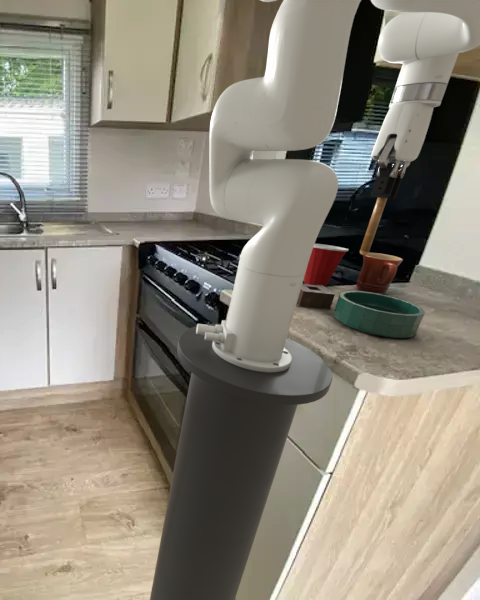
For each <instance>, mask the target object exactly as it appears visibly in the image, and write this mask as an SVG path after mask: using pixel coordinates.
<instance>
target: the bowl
mask: <svg viewBox="0 0 480 600" xmlns="http://www.w3.org/2000/svg"><path fill="white" fill-rule="evenodd" d="M425 314H426V311H425V310H424V309H423V307H421V306H419V305H417V304H415V303H413V302H410V301H407V300H405V299H402V298H398V297H394V296H391V295H386V294H377V293H371V292H364V291H361V290H347V291H342V292H340V293H339V295H338V299H337V301H336V303H335V307H334V310H333V317H334V318H335V319H337V320H338V321H339V322H341V323H342V324H343V325H345V326H347V327H349V328H351V329H354V330H356V331H360V332H362V333H366V334H370V335H373V336H378V337H382V338H383V337H384V338H390V339H391V338H393V339H402V338H411V337H415V336H416V334H417V333H418V331H419V328H420V326H421V323H422V321H423V319H424V317H425Z"/></svg>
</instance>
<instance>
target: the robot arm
mask: <svg viewBox="0 0 480 600" xmlns="http://www.w3.org/2000/svg"><path fill="white" fill-rule="evenodd" d="M259 1H261V2H263V3H272V2H276V1H277V0H259ZM361 2H362V0H283V1H282V2H281V4H280V6H279V8H278V10H277V12H276V15H275V17H274V19H273V22H272V25H271V28H270V31H269V37H268V46H267V47H268V49H267V56H266V57H267V58H266V65H265V72H264V76H261V77H259V76H258V77H254V78H248V79H243V80H241V81H237V82H234V83H233V84H230V85H229V86H228V87H226V88H225V90H223V91H222V93H221V94H220V96H219V97H218V99H217V100H216V102H215V105H214V107H213V110H212V113H211V118H210V121H209V122H210V123H209V137H208V138H209V140H208V141H209V143H208V144H209V147H208V149H209V153H208V154H209V157H208V158H209V161H208V162H209V163H208V165H209V167H208V168H209V169H208V176H209V177H208V178H209V181H208V183H209V185H208V186H209V199H210V200H209V201H210V205H211V208H212V209H213V211H214V212H215V213H216V214H217V215H219V216H220V217H223V218H226V219H231V220H235V221H241V222H248V223H254V224H257V225H261V228H260V229H259V230H258V232H257V233H256V234H254V235H253V236H252V237H251V238H250V239H249V240H248V241H247V243H246V244H245V245H244V246H243V248H242V250H241V252H240V254H239V255H240V256H239V260H238V266H237V269H236V274H235V278H234V279H235V280H234V283H233V289H232V294H231V298H230V303H229V308H228V312H227V317H226V320H225V319H222V320H221V323H220V324H221V325H217V324H218V323H215V324H216V325H215V326H208V325H205V324H206V323H205V324H204V323H197V324H196V326H197V328H196V334H200V335H205V340H210V341H213V343H212V347H213V350H214V351H215V353H216V354H217V355H218V356H220V357H221V358H222V359H224V360H225V361H227V362H229V363H231V364H233V365H236V366H238V367H241V368H244V369H248V370H252V371H258V372H268V373H271V372H280V371H284V370H286V369H288V368H289V367H290V365H291V362H292V356H291V354H290V353H289V352H288V350H286V349H285V348H284V346H285V343H286V339H287V338H288V335H289V333H290V329H291V325H292V322H293V318H294V315H295V311H296V307H297V305H298V304H297V301H298V297H299V294H300V290H301V287H302V284H304V276H305V273H306V269H307V266H308V262H309V259H310V256H311V253H312V249H313V247H314V244H316V242H317V238H318V235H319V233H320V231H321V229H322V227H323V225H324V223H325V220H326V218H327V217H328V214H329V212H330V210H331V208H332V207H333V204H334V202H335V200H336V197H337V194H338V189H339V178H338V175H337V173H336V172H335V170H334V169H333V168H332V167H330V166H329V165H327V164H326V163H323V162H321V161H316V160H311V159H299V158H296V159H295V158H271V159H268V158H267V159H266V158H264V159H263V158H254V152H291V151H294V152H295V151H302V150H309V149H312V148H314V147H317V146H319V145H321V144H322V143H323V142H324V141H325V140H327V138H328V137H329V135H330V133H331V132H332V129H333V126H334V123H335V120H336V117H337V112H338V105H339V102H340V95H341V89H342V84H343V78H344V73H345V72H344V71H345V66H346V59H347V53H348V47H349V43H350V42H349V41H350V36H351V31H352V28H353V23H354V19H355V15H356V14H357V10H358V8H359V6H360V3H361ZM370 2H371V4H372V5H373V6H374V7H375V8H377V9H380V10H383V11H389V12H397V13H400V14H398V15H396V16H394V17H393V18H391V19H390V20H389V21H388V22H387V23H386V24H385V25H384V27H383V28H382V30H381V32H380V35H379V37H378V41H377V51H378V54H379V56H380V57H381V59H382V60H383V61H385V62H387V63H389V64H401V69H400V71H399V74H398V77H397V81H396V84H395V87H394V89H393V93H392V96H391V100H390V103H389V105H388V111H387V113H386V115H385V117H384V120H383V122H382V124H381V126H380V129H379V133H378V135H377V138H376V140H375V142H374V145H373V149H372V152H371V153H370V154H371V156H370V157H371V159H372V160H373V161H377V165H378V170H377V172H376V177H375V180H374V183H373V186H372V190H371V192H370V197H372V198H387V199H396V197H397V196H398V195H397V194H398V191H399V189H400V186H401V183H402V180H403V178H404V176H405V173H406V169H407V168H408V167H409V166H410V165H411V162H413V161H415V160H416V159H417V158H418V157H419V155H420V153H421V150H422V147H423V145H424V142H425V139H426V135H427V132H428V129H429V126H430V123H431V120H432V116H433V112H434V108H436V107H440V106H441V104H442V101H443V98H444V96H445V93H446V90H447V87H448V84H449V81H450V79H451V75H452V73H453V70H454V67H455V65H456V62H457V60H458V56H459V54H460V53H466V52H469V51H472V50H474V49H476V48H477V47H479V46H480V0H370ZM397 169H399V172H398V174H397V177H396V178H393V177H394V176H395V174H396V171H397Z"/></svg>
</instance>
